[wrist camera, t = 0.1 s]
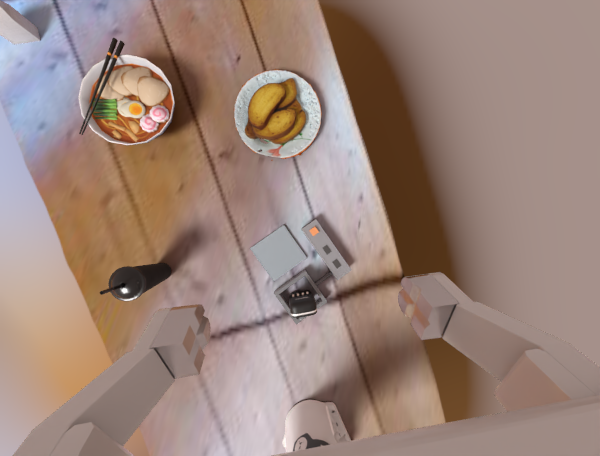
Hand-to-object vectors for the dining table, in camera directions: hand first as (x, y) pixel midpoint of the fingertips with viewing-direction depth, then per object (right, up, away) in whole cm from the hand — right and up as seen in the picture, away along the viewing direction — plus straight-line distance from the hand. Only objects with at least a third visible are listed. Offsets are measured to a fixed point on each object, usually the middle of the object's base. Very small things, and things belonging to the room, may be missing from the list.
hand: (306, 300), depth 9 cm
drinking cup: (-40, -9, +52) cm, 66 cm away
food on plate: (-7, +36, +54) cm, 65 cm away
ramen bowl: (-44, +35, +52) cm, 76 cm away
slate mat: (-6, -4, +54) cm, 54 cm away
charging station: (+1, -10, +54) cm, 55 cm away
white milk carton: (-76, +56, +49) cm, 106 cm away
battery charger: (0, -17, +55) cm, 57 cm away
